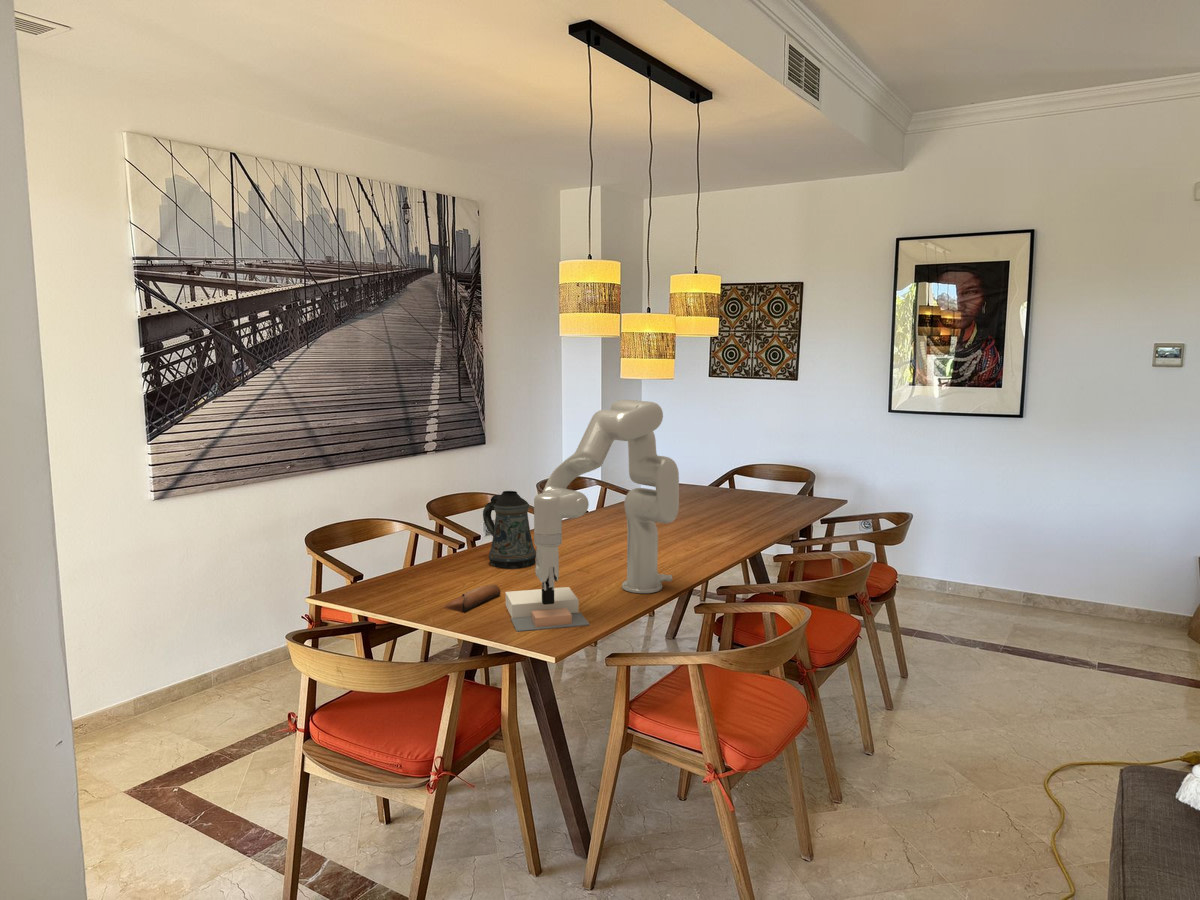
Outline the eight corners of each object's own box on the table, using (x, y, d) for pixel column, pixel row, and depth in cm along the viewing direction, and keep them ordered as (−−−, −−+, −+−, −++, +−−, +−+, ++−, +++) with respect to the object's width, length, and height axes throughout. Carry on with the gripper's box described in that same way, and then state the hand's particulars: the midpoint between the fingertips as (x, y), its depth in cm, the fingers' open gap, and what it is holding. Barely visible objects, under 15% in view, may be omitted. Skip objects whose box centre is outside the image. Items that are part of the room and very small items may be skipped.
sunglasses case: (478, 591, 250) (487, 574, 247) (494, 605, 247) (503, 589, 245) (441, 608, 234) (450, 590, 232) (458, 623, 232) (467, 606, 229)
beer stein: (532, 570, 273) (532, 497, 270) (475, 568, 275) (474, 496, 271) (539, 557, 290) (539, 488, 286) (485, 555, 291) (484, 487, 288)
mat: (580, 613, 230) (580, 612, 230) (589, 625, 221) (589, 624, 221) (510, 619, 225) (510, 618, 225) (516, 631, 215) (516, 630, 215)
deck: (568, 600, 242) (568, 587, 242) (578, 612, 231) (578, 599, 230) (505, 605, 237) (505, 591, 237) (512, 618, 226) (512, 604, 225)
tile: (571, 614, 221) (571, 623, 221) (566, 607, 226) (566, 616, 227) (535, 618, 218) (535, 627, 218) (531, 611, 224) (531, 619, 224)
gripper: (529, 533, 228) (529, 596, 230) (539, 546, 214) (539, 613, 216) (555, 531, 230) (555, 594, 232) (567, 544, 216) (567, 610, 218)
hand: (548, 603), depth 224 cm, fingers closed
